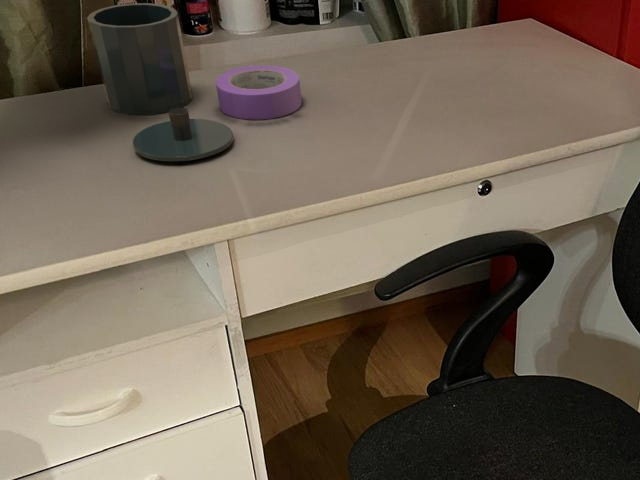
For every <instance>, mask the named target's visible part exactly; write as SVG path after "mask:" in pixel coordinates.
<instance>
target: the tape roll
mask: <svg viewBox="0 0 640 480" xmlns="http://www.w3.org/2000/svg"><path fill="white" fill-rule="evenodd" d="M215 86H216V91H217V98H218V105H219V109H220V111H221V112H222V113H223V114H225V115H227V116H229V117H232V118H236V119H241V120H250V121H251V120H253V121H256V120H257V121H262V120H263V121H264V120H270V119H271V120H272V119H276V118H281V117H285V116H287V115H290V114H292V113H294V112H296V111H298V110H299V109H300V108H301V106H302V103H303V101H302V91H301V82H300V76H299V74H298V73H297V72H295V71H294V70H292V69H290V68H287V67H284V66H279V65H267V64H266V65H265V64H262V65H259V64H257V65H247V66H242V67H241V66H240V67H236V68H234V69H230V70H228V71H227V70H226V71H225V72H223V73H222V74H220V75H219V76H218V77H217V78H216V80H215Z"/></svg>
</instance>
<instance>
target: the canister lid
mask: <svg viewBox="0 0 640 480" xmlns="http://www.w3.org/2000/svg"><path fill="white" fill-rule="evenodd" d="M168 116H169V117H168V118H169V120H168V121H162V122H159V123H156V124H152V125H150V126H147V127H146V128H143V129H142V130H140V131H138V132H137V133H136V135H134V136H133V139H132V146H133V150H134V152H135V153H136V154H138V155H140V156H141V157H143V158H146V159H149V160H152V161H153V160H154V161H161V162H186V161H194V160H199V159H204V158H209V157H211V156H213V155H217V154H219V153H221V152H223V151H224V150H226V149H228V148H229V147H230V146H231V145H232V144H233V141H234V133H233V130H232V129H231V128H230V127H229V126H228V125H226V124H224V123H222V122H220V121H216V120H211V119H203V118H190V114H189V110H188V109H187V108H185V107H181V108H174V109H171V110H170V111H169V112H168Z"/></svg>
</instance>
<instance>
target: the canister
mask: <svg viewBox="0 0 640 480" xmlns="http://www.w3.org/2000/svg"><path fill="white" fill-rule="evenodd" d="M86 19H87V24H88V28H89V31H90V36H91V40H92V44H93V49H94V53H95V57H96V60H97V65H98V69H99V73H100V77H101V82H102V87H103V90H104V94H105V98H106V101H107V103H108V106H109V108H110V109H111V110H112V111H115V112H117V113H120V114H124V115H134V116H149V115H150V116H152V115H158V114H159V115H160V114H164V113H169V111H170V110H171V109H174V108H184V107H185V106H187V105H188V104H189V103H190V102H191V101H192V98H193V92H192V86H191V79H190V74H189V67H188V63H187V58H186V51H185V46H184V40H183V35H182V29H181V24H180V23H181V22H180V19H179V12H178V11H177V10H176V9H175V8H173V7H171V6H167V5H165V4H161V3H159V4H158V3H150V2H149V3H148V2H147V3H146V2H143V3H142V2H139V3H137V2H136V3H135V2H134V3H133V2H132V3H124V4H118V5H117V4H116V5H110V6H107V7H102V8H99V9H97V10H94V11H92V12H91V13H90V14H89V15H87V18H86Z"/></svg>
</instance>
